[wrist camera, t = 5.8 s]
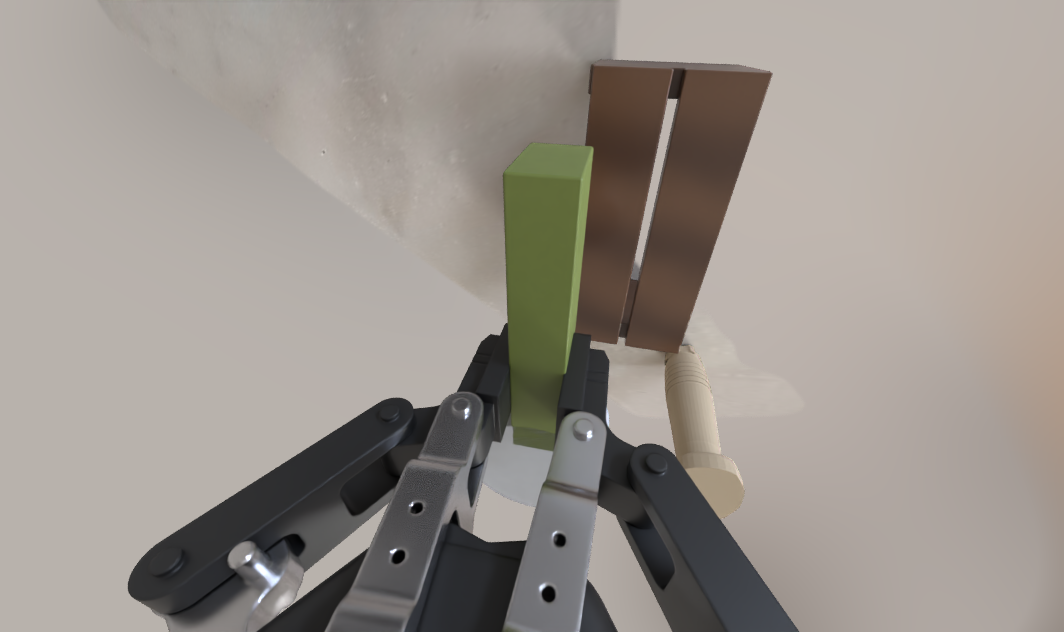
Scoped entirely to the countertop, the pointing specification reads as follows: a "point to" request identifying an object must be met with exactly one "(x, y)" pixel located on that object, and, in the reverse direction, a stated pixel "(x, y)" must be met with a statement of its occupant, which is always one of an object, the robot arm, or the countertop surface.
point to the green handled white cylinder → (539, 306)
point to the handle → (699, 432)
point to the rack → (659, 191)
